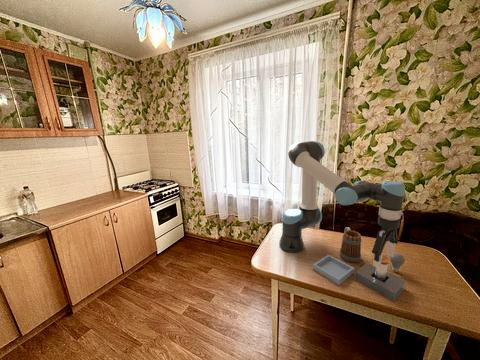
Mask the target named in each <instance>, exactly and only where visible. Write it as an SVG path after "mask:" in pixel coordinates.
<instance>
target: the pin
mask: <svg viewBox="0 0 480 360" xmlns="http://www.w3.org/2000/svg"><path fill="white" fill-rule="evenodd" d="M389 262H390V257H388V256H386V255H383V254H382V260H381V267H380V269H379V268H377V267H375V273H374V278H376V279H378V280H380V281H382V282H384V283H385V280H386V274H387V272H388V269H389V268H388V267H389Z"/></svg>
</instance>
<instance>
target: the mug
mask: <svg viewBox="0 0 480 360" xmlns="http://www.w3.org/2000/svg"><path fill="white" fill-rule="evenodd" d="M341 240H342V242H341V246H340V250H339V256H340V258H341V259H342V260H344V261H345V262H347V263H354V264H355V263H359V262H360V261H361V258H362V257H361V256H362V253H361V251H362V249H361V245H362V235H361V233H359V232H358V231H355V230H352V229H351V227H347V226H345V228H344V231H343V235H342V239H341Z"/></svg>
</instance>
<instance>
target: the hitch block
mask: <svg viewBox="0 0 480 360" xmlns="http://www.w3.org/2000/svg"><path fill="white" fill-rule="evenodd" d="M374 273H375V266H373V264H371V263H370V262H369V263H368V262H367V263H365V264H364V265H362V267H360V268H359V269H357V271H355V273H354V280H355V281H357V282H359V283H360V284H362V285H363V286H366V287H368V288H369V289H371V290H373V291H375V292H376V293H378V294H380V295H382V296H383V297H385V298H387V299H389V300H390V301H392V302H395V301H397V299H398V297H399V296H400V295H401V294H402V293H403V291H404V290H405V288H406V284H407V283H406V282H407V281H406V280H404V279H402V278H401V277H399V276H398V275H397V276H396V275H394V274H392V273H391V272H389V271H387V274H386V280H385V283H384V282H382V281H380V280H378V279H376V278H374Z"/></svg>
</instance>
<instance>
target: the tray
mask: <svg viewBox="0 0 480 360" xmlns="http://www.w3.org/2000/svg"><path fill="white" fill-rule="evenodd" d="M312 270H313V271H314V272H315V273H317V274H318V275H319V274H320V276H323V277H324V278H326V279H328V280H329V281H330V282H331V283H333V284H335V285H337V286H340V285H341V284H342V283H344V282H345V281H346V280H347V279H348V278H350V277H351V276H352V275H353V274H355V273H354V272H355V267H353V266H351V265H349V264H348V263H346V262H344V261H342V260H339V259H338V258H336V257H334V256H333V255H330V254H326V256H324V257H322V258H321V259H319V260H318V261H316V262H315V263H313V264H312Z"/></svg>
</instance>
